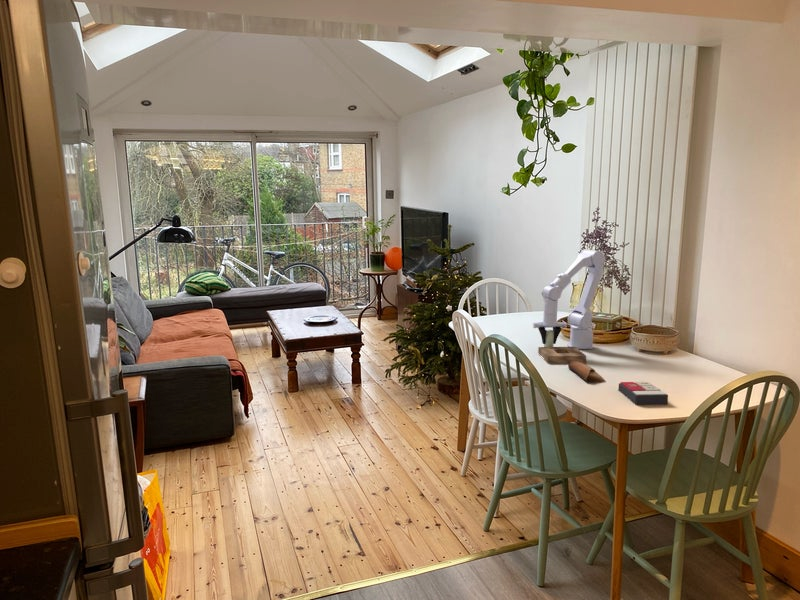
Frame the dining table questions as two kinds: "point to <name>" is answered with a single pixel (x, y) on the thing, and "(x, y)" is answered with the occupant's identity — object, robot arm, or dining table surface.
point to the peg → (549, 338)
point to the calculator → (643, 393)
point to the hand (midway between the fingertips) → (548, 343)
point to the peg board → (561, 354)
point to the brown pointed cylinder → (585, 372)
